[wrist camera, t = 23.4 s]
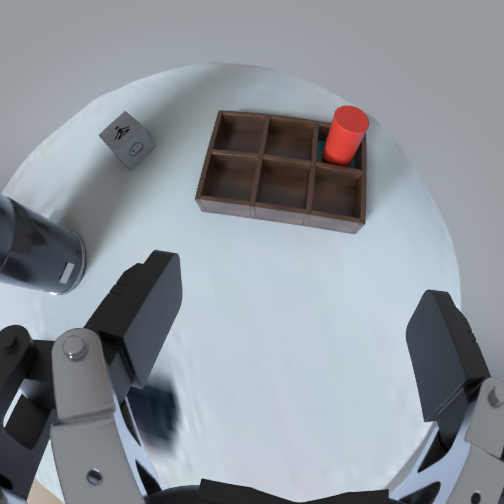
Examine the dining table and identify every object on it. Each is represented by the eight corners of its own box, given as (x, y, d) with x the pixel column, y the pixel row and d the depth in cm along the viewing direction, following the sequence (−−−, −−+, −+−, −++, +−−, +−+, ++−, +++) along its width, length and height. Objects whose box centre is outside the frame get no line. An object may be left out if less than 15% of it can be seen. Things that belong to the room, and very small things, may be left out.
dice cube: (130, 170, 38) (115, 153, 33) (113, 152, 39) (98, 135, 34) (155, 146, 39) (143, 126, 34) (137, 130, 40) (125, 110, 35)
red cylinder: (320, 169, 36) (334, 129, 27) (322, 145, 37) (334, 102, 28) (349, 175, 36) (369, 136, 27) (350, 150, 36) (368, 109, 28)
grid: (202, 211, 36) (194, 199, 32) (222, 127, 39) (218, 110, 35) (355, 234, 35) (365, 224, 31) (358, 146, 37) (365, 130, 33)
